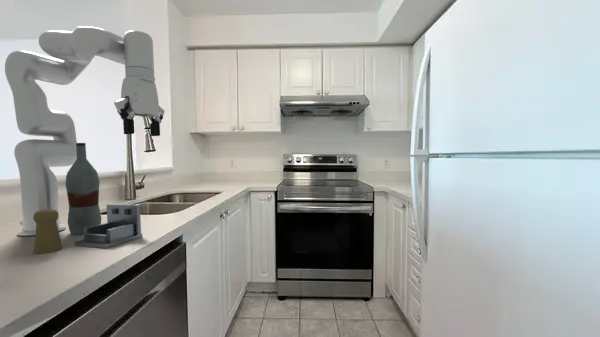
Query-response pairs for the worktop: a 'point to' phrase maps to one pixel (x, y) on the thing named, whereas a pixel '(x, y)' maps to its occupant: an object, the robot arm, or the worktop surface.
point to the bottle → (82, 193)
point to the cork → (46, 232)
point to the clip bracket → (114, 227)
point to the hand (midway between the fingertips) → (142, 135)
